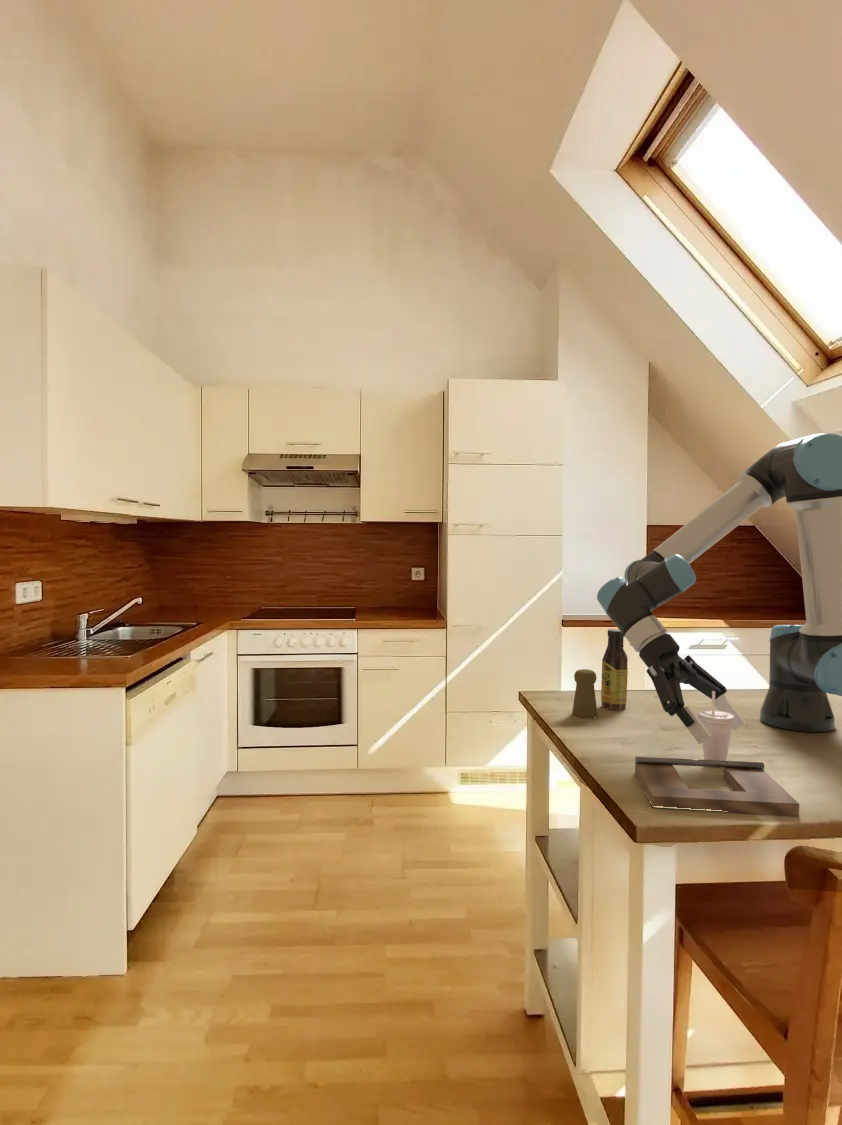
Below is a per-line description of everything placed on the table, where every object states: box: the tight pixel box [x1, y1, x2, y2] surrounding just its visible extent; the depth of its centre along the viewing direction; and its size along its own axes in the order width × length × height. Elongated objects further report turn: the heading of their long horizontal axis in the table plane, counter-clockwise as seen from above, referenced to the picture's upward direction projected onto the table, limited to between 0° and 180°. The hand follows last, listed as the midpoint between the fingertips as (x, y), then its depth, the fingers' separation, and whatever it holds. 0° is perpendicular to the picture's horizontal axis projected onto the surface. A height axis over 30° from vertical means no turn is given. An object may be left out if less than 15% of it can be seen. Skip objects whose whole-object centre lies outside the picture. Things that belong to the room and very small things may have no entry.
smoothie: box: [697, 691, 735, 769], centre depth 129 cm, size 6×6×14 cm
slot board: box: [634, 762, 800, 817], centre depth 115 cm, size 22×16×2 cm
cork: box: [571, 668, 598, 719], centre depth 164 cm, size 6×6×11 cm
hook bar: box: [634, 756, 765, 771], centre depth 122 cm, size 22×1×1 cm, turn 82°
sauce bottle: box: [600, 628, 629, 710], centre depth 170 cm, size 7×6×20 cm
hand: (723, 733), depth 128 cm, fingers open, 13 cm apart
